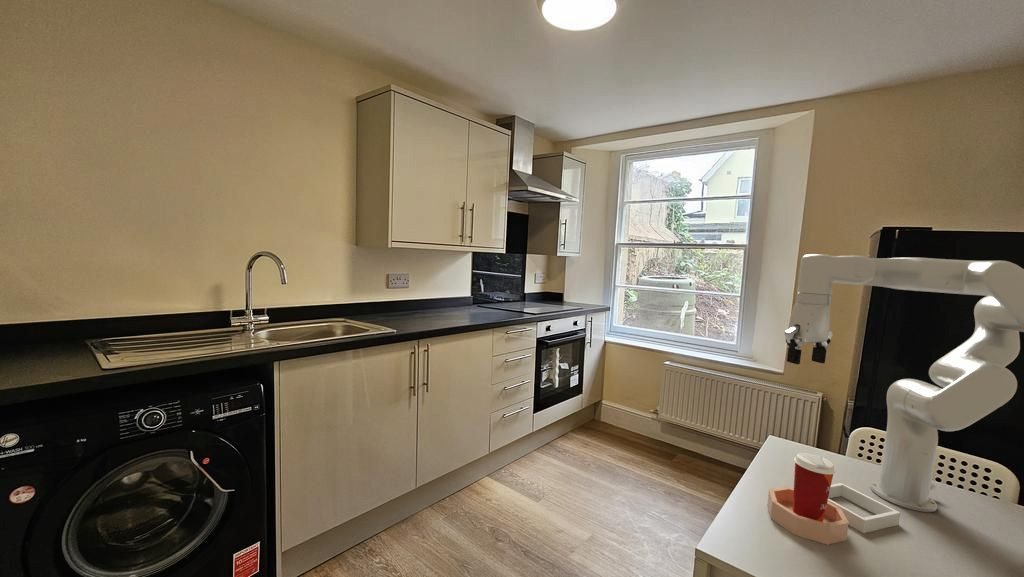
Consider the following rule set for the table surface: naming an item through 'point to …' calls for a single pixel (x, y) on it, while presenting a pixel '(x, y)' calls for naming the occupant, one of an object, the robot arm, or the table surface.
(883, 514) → the parts tray
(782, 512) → the dish
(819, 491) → the paper cup
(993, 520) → the table surface
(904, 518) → the table surface
